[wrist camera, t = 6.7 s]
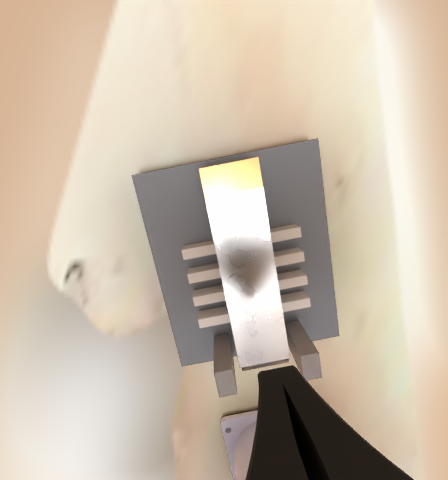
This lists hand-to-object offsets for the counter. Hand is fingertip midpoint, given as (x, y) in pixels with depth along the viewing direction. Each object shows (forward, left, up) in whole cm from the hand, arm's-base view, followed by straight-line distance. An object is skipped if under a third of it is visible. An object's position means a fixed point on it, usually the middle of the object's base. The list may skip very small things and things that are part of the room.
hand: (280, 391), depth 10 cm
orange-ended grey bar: (+2, 0, -6) cm, 7 cm away
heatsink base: (+3, 0, -9) cm, 10 cm away
